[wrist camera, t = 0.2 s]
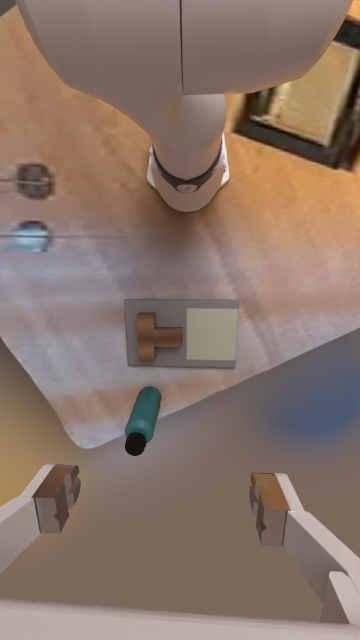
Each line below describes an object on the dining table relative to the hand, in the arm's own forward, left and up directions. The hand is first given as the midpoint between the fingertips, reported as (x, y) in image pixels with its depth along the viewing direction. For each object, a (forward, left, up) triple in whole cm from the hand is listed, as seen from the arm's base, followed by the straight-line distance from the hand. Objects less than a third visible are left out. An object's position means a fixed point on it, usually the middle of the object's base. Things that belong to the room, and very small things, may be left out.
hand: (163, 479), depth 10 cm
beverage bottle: (+24, -10, -48) cm, 54 cm away
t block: (+6, -6, -46) cm, 47 cm away
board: (+6, -1, -47) cm, 48 cm away
